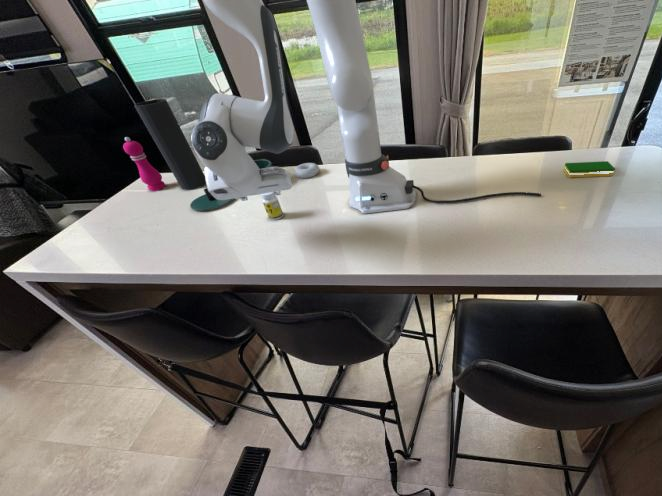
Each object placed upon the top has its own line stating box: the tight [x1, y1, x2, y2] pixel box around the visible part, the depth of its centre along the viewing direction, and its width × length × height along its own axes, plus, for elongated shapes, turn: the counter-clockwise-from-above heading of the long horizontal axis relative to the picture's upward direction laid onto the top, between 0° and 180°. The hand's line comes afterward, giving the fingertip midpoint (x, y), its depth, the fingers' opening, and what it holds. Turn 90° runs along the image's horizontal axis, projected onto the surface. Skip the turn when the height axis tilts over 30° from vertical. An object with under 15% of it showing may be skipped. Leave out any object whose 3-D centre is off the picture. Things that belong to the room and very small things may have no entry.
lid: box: [189, 187, 235, 212], centre depth 117 cm, size 15×15×5 cm
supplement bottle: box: [260, 192, 284, 221], centre depth 102 cm, size 5×5×8 cm
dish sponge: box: [563, 160, 616, 178], centre depth 108 cm, size 7×14×2 cm, turn 84°
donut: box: [293, 162, 320, 179], centre depth 129 cm, size 10×4×10 cm
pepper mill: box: [122, 136, 167, 192], centre depth 127 cm, size 7×7×20 cm
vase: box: [133, 98, 206, 191], centre depth 123 cm, size 10×10×30 cm
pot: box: [253, 158, 274, 169], centre depth 125 cm, size 14×20×7 cm
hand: (261, 195), depth 93 cm, fingers open, 8 cm apart
